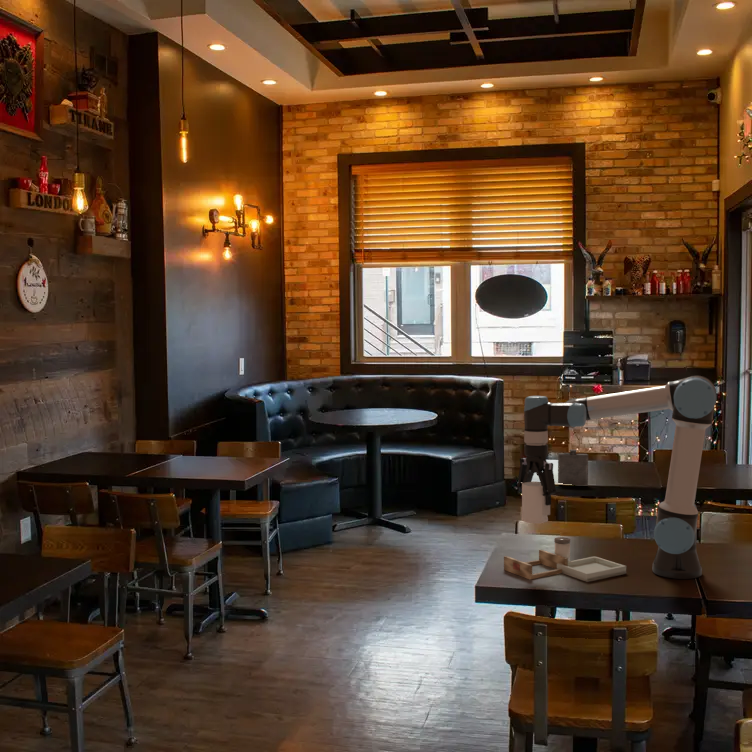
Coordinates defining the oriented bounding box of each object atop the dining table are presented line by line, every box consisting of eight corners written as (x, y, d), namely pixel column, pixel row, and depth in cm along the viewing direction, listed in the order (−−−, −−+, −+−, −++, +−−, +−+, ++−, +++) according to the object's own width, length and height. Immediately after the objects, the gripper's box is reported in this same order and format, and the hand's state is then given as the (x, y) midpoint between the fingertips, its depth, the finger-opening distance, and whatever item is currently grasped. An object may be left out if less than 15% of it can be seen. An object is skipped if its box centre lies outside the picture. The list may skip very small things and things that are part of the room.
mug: (525, 514, 301) (525, 479, 300) (551, 516, 298) (551, 480, 297) (519, 522, 290) (519, 485, 289) (545, 524, 287) (545, 486, 286)
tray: (626, 573, 291) (626, 566, 290) (587, 581, 282) (587, 574, 282) (595, 563, 303) (595, 556, 302) (556, 571, 294) (556, 563, 294)
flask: (588, 487, 437) (588, 450, 435) (557, 486, 440) (558, 449, 438) (587, 485, 440) (588, 449, 439) (557, 485, 443) (558, 448, 442)
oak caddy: (567, 571, 293) (567, 558, 293) (529, 579, 285) (529, 565, 285) (541, 562, 304) (541, 549, 304) (503, 569, 296) (503, 556, 296)
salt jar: (573, 566, 299) (573, 539, 299) (561, 568, 297) (561, 541, 296) (562, 562, 304) (562, 536, 303) (551, 564, 301) (551, 538, 301)
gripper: (567, 446, 284) (567, 516, 286) (523, 439, 303) (523, 505, 304) (549, 448, 281) (549, 519, 282) (505, 440, 299) (506, 507, 301)
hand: (536, 512), depth 293 cm, fingers closed on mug, 9 cm apart
